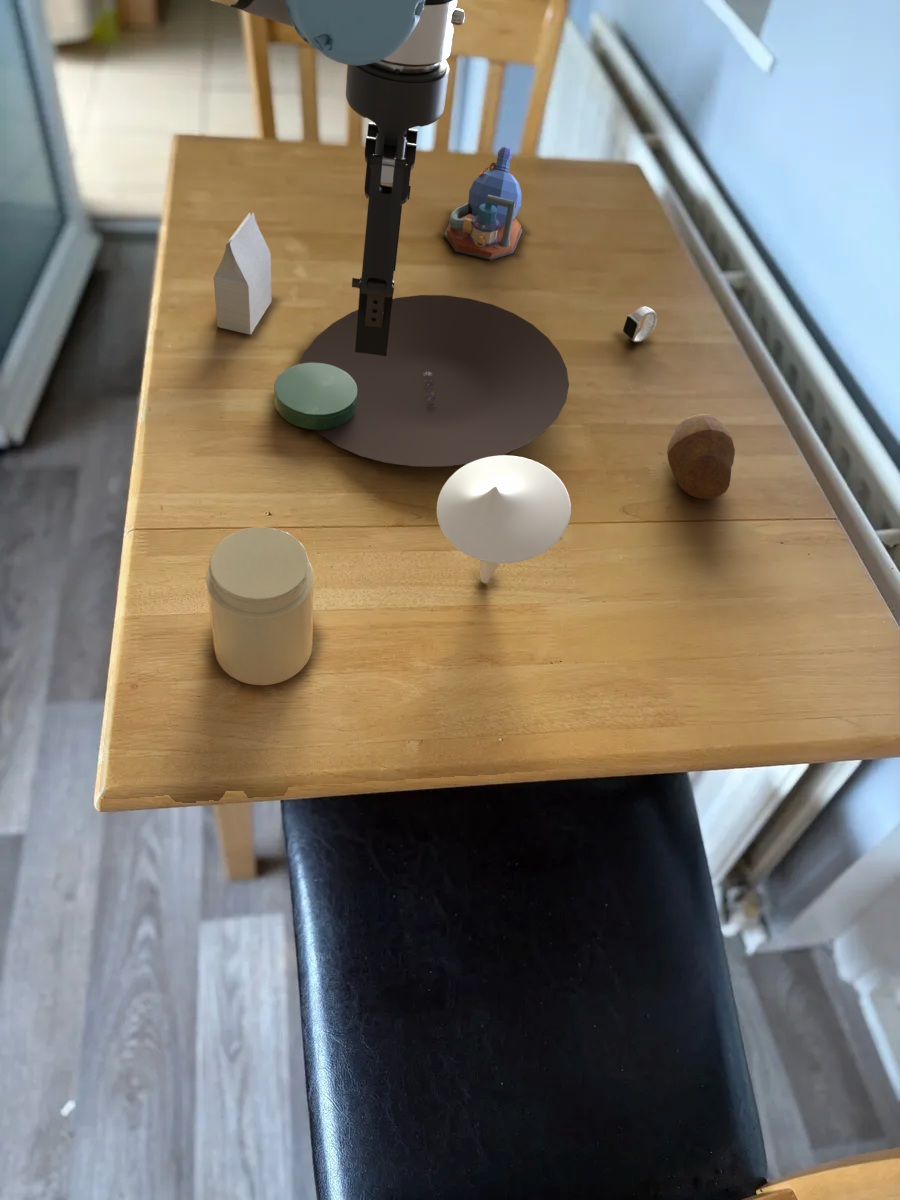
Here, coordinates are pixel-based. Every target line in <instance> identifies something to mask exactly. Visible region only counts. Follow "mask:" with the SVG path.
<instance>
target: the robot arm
mask: <svg viewBox="0 0 900 1200" xmlns="http://www.w3.org/2000/svg"><path fill="white" fill-rule="evenodd" d="M210 1H211V2H215V3H218V4H221V5H225V6H228V7H231V8H235V9H237V10H240V11H242V12H245V13H248V14H251V15H255V16H258V17H259V18H260V17H261V18H264V19H267V20H270V21H274V22H277V23H280V24H282V25H287V26H290V27H292V28H294V30H295V31H296V33H297V34H298V36H299V37H300V38H301V39H302V40H303V41H304V42H305V43H307V44H309V45H310V46H311V48H313V49H315V50H318V51H319V52H320V53H321V54H323V56H325V57H327V58H328V59H330V60H331V61H334V62H336V63H339V64H343V65H346V81H345V82H346V84H345V85H346V86H345V98H346V102H347V104H348V105H349V107H350V108H351V109H352V111H354V112H355V113H356V114H357V115H359V116H360V117H362V118H364V119H367V120H370V121H371V122H370V121H369V122H368V123H367V133H366V134H367V135H366V136H365V145H364V161H365V163H366V168H365V179H364V196H365V198H366V199H367V200H368V203H367V213H366V225H365V236H364V238H365V239H364V248H363V256H362V257H363V258H362V269H361V276H360V277H359V278H356V277H352V279H351V288H356V289H359V293H358V307H357V308H358V309H357V310H358V319H357V333H356V346H355V352H358V353H366V354H374V355H381V356H386V355H387V346H388V337H389V327H390V318H391V308H392V299H394V292H395V281H394V274H395V272H396V267H397V259H398V256H397V255H398V248H399V238H400V228H401V220H402V219H401V218H402V209H403V205H404V204H406V203H407V202H408V200H409V201H410V197H411V196H410V195H411V187H412V186H411V185H410V183H411V182H410V181H411V171H412V170H413V169H414V168H415V163H416V156H417V155H416V154H417V145H418V144H417V140H418V134H419V133H418V132H419V129H414V128H416V127H420V128H422V127H426V126H429V125H431V124H433V123H436V122H437V121H439V119H440V118H441V117H442V116H443V114H444V111H445V105H446V98H447V91H448V84H449V76H450V65H449V63H448V61H447V59H448V58H449V57H450V55H451V54H452V53H451V52H452V45H453V40H454V39H453V38H454V33H455V32H454V31H455V30H454V26H462V25H463V24H464V23H465V20H466V19H465V18H466V16H465V11H464V10H463V9H461V8H457V5H458V2H459V1H458V0H210Z"/></svg>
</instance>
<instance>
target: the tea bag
mask: <svg viewBox="0 0 900 1200" xmlns="http://www.w3.org/2000/svg"><path fill="white" fill-rule="evenodd" d="M271 264H272V259H271V251H270V248H269V247H268V245H267V242H266V240H265V238H264V236H263V233H262V232H261V229H260V227H259V224H258V222H257V220H256V216H255V213H254V212H252V213H251V212H249V213H248V214H247V215H246V216H245V217H244V219H243V220H242V221H241V223H240V224H239V226H238V227H237V229H236V230H235V231H234V233H233V234H232V235H231V237H230V238H229V239H228V240H227V242H226V243H225V249H224V253H223V256H222V259H221V261H220V263H219V265H218V267H217V270H216V271H215V274H214V275H213V285H214V287H213V288H214V299H215V301H214V302H215V312H216V324H217V325H216V327H218V328H220V329H224V330H229V331H233V332H237V333H241V334H245V335H250V336H252V335H253V334H252V333H253V332H254V330H255V329H256V327H257V326H258V324H259V322H260V321H261V319H262V318H263V316H264V314H265V313H266V311H267V310H268V308H269V306H270V305H271V304H272V301H273V300H272V265H271Z"/></svg>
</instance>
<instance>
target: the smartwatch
mask: <svg viewBox="0 0 900 1200" xmlns="http://www.w3.org/2000/svg"><path fill="white" fill-rule="evenodd" d="M645 316H646V317H645ZM644 317H645V319H644V322H643V327H642V328H640V327H641V320H642V319H643V318H644ZM657 324H658V314H657V313H656V312H655V311H654V310H653V309H652V308H651V307H649V306H640V307H639V308H637V309H635V310H634V311H633V312H632V313H630V314H628V315H627V316H626V318H625V322H624V325H623V329H622V331H623V333H624V334H625V335H626V337H628V338H629V340H631V341H632V342H634V343H641V342H642V341H644V340H646V339H647V338H648V337H649V336H650V335H651V334H652V333H653V332H654V330H655V329H656V326H657ZM640 329H641V330H640Z"/></svg>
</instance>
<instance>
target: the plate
mask: <svg viewBox="0 0 900 1200" xmlns="http://www.w3.org/2000/svg"><path fill="white" fill-rule="evenodd" d="M357 319H358V309H356V310H353V311H351V312H350V313H348V314H346V315H345V316H343V317H341V318H339V319H338V320H335V321H334V322H332V323H331V324H330V325H329V326H328V327H327V328H325V329H324V330H322V332H320V333H319V334H318V335H316V337H315V338H314V339H313V341H312V342H311V343H310V344H309V346H308V347H307V348H306V349H305V351H304V352H303V354H302V356H301V358H300V360H299V363H298V364H303V363H322V364H328V365H331V366H334V367H337V368H339V369H341V370H343V371H345V372H346V373H347V374H349V375H350V376H351V377H352V378H353V380H354V381H355V383H356V386H357V405H356V411H355V413H354V415H353V416H352V417H351V418H350V420H348V421H347V422H346V423H344V424H342V425H340V426H338V427H335V428H331V429H324V430H315V432H316V433H317V434H319V435H320V436H322V437H323V438H325V439H326V440H327V441H329V442H330V443H332V444H333V445H335V446H337V447H339V448H341V449H344V450H345V451H348V452H350V453H353V454H355V455H357V456H360V457H363V458H365V459H366V458H367V459H371V460H374V461H377V462H378V461H379V462H382V463H386V464H392V465H400V466H401V465H402V466H409V467H451V466H461V465H467V464H469V463H471V462H473V461H476V460H479V459H482V458H486V457H491V456H505V455H506V454H508V453H510V452H513V451H516V450H518V449H519V448H522V447H525V446H526V445H527V444H529V443H530V442H532V441H534V440H535V439H536V438H538V437H540V436H541V435H542V434H544V433H545V432H546V431H547V430H548V429H549V427H550V426H551V425H553V423H554V422H555V421H556V420H557V419H558V418H559V416H560V414H561V412H562V410H563V408H564V406H565V404H566V402H567V399H568V392H569V387H570V382H569V375H568V368H567V366H566V364H565V362H564V359H563V356H562V355H561V353H560V351H559V349H557V347H556V346H555V345H554V343H553V342H552V341H551V340H550V338H549V337H548V336H547V335H546V334H544V333H543V332H542V331H541V330H540V329H538V328H537V327H536V326H535V325H534V324H533V323H531V322H529V321H528V320H526V319H525V318H522V317H521V316H519V315H517V314H516V313H515V312H511V311H510V310H506V309H504V308H502V307H500V306H498V305H496V304H492V303H488V302H484V301H480V300H477V299H473V298H468V297H461V296H453V295H445V294H419V295H410V296H400V297H393V299H392V308H391V318H390V327H389V337H388V346H387V355H386V356H381V355H374V354H366V353H358V352H355V346H356V333H357Z"/></svg>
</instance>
